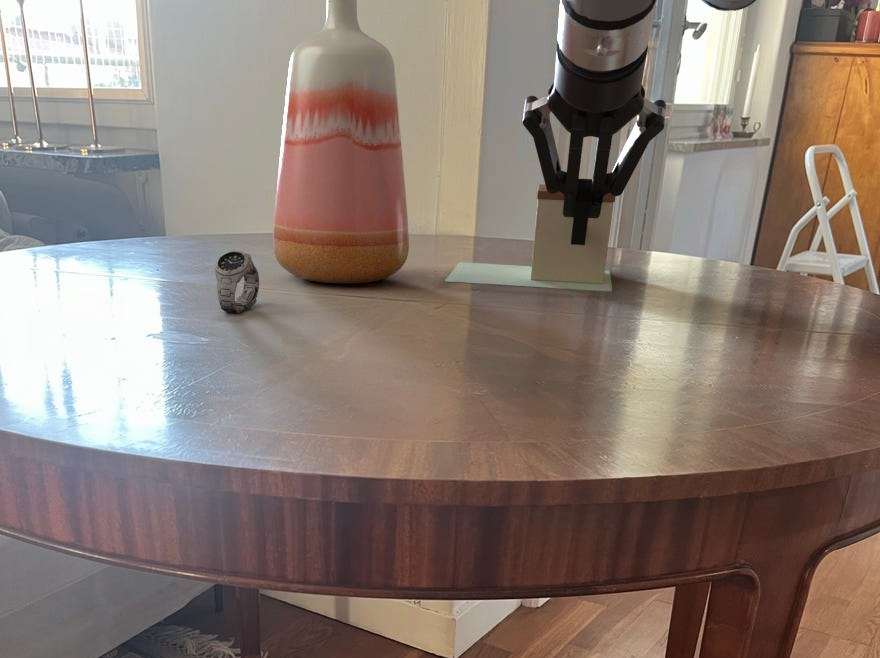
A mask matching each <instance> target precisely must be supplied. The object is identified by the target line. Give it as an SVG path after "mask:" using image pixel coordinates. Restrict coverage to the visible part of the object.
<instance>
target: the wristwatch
mask: <svg viewBox="0 0 880 658" xmlns="http://www.w3.org/2000/svg"><path fill="white" fill-rule="evenodd" d="M214 274H215V278H216V290H217V300H218V303H219V307H220V309H221V310H222V311H223V312H225V313H232V314H233V313H236V314H240V313H242V312H245V311H248V310H250V309H252V307H254V305H255V304H257V297H258V294H259V290H260V289H259V288H260V275H259V271H258V269H257V267H256V266H255V264H254V262H253V260H252V255H251V254H250V253H248V252H244V251H241V250H229V251H226V252H224V253H223V254H220V256H218V257H217V259H216V260H215V263H214ZM242 278H243V280H244V281H243V290H242V292H241V294H240V295H239V296H238V297H237V298H236V295H235V294H236V291H237V287H238V284H239V283H240V282H241V280H242Z"/></svg>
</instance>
